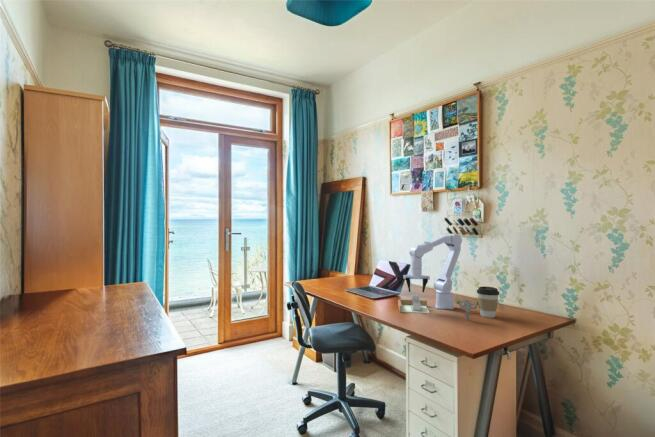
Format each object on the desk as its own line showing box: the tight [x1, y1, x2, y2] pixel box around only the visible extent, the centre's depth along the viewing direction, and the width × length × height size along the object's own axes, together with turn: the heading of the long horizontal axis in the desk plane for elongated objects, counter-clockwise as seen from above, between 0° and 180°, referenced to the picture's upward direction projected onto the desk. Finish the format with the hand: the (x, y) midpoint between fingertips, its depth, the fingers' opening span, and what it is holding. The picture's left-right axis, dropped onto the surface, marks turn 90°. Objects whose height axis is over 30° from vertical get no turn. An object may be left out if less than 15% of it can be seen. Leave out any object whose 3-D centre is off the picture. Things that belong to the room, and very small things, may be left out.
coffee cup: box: [476, 286, 500, 319], centre depth 185 cm, size 11×11×15 cm
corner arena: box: [397, 298, 430, 315], centre depth 198 cm, size 17×16×4 cm
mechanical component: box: [456, 299, 479, 322], centre depth 177 cm, size 3×10×10 cm, turn 79°
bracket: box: [411, 293, 421, 311], centre depth 197 cm, size 9×4×7 cm, turn 172°
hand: (416, 291), depth 196 cm, fingers open, 7 cm apart
